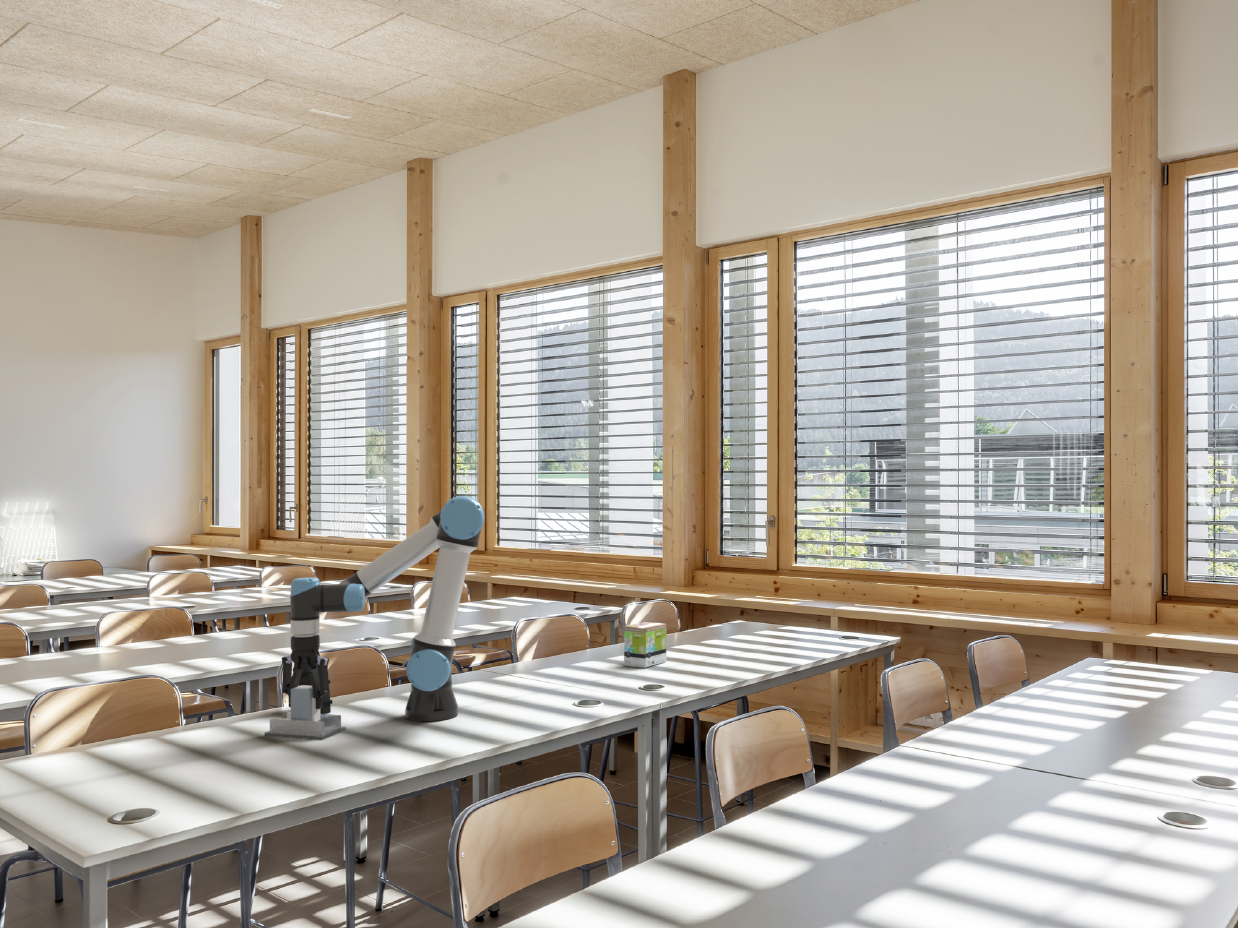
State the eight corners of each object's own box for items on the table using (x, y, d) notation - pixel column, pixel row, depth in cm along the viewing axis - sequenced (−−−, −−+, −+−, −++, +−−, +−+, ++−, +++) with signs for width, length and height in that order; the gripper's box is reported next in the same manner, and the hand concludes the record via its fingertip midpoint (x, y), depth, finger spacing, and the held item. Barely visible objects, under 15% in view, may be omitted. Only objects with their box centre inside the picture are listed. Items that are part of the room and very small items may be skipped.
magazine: (328, 710, 281) (314, 661, 285) (303, 724, 288) (290, 676, 292) (339, 707, 284) (324, 659, 288) (314, 721, 291) (300, 674, 295)
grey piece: (345, 729, 264) (345, 713, 264) (322, 739, 254) (322, 723, 254) (289, 725, 270) (289, 710, 270) (264, 735, 259) (264, 719, 259)
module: (319, 719, 263) (319, 685, 263) (310, 723, 259) (309, 688, 259) (301, 718, 265) (300, 684, 265) (290, 722, 260) (290, 687, 261)
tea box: (646, 668, 349) (646, 627, 350) (623, 666, 355) (622, 625, 355) (667, 661, 362) (666, 622, 362) (644, 659, 367) (644, 620, 368)
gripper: (343, 633, 263) (343, 718, 263) (284, 631, 269) (284, 714, 268) (327, 637, 256) (327, 725, 255) (266, 635, 262) (267, 721, 261)
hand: (305, 719), depth 262 cm, fingers closed on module, 6 cm apart
